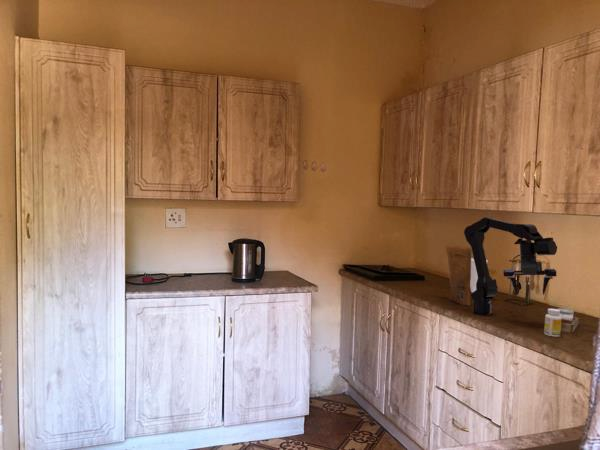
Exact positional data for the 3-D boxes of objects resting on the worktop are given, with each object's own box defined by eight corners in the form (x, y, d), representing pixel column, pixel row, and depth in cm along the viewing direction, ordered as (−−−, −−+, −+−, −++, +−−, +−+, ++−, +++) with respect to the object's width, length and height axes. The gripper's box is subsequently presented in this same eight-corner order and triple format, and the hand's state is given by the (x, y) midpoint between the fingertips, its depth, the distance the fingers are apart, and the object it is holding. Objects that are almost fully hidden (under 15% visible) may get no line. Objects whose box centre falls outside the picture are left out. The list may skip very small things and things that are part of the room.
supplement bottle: (542, 334, 170) (543, 309, 169) (546, 332, 174) (547, 307, 173) (558, 337, 166) (560, 312, 166) (561, 335, 170) (563, 310, 170)
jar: (555, 324, 183) (556, 309, 183) (557, 321, 188) (558, 307, 188) (571, 327, 180) (572, 312, 180) (573, 324, 184) (574, 310, 184)
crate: (547, 329, 177) (547, 320, 177) (554, 322, 190) (554, 313, 190) (572, 334, 172) (573, 325, 172) (578, 326, 185) (578, 317, 184)
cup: (482, 290, 256) (484, 259, 255) (488, 294, 246) (490, 261, 245) (463, 289, 257) (464, 258, 256) (468, 293, 247) (470, 260, 246)
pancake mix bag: (462, 306, 213) (465, 247, 211) (441, 297, 231) (444, 243, 230) (475, 306, 214) (478, 247, 213) (453, 297, 233) (456, 243, 231)
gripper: (502, 256, 178) (504, 296, 177) (556, 255, 170) (559, 296, 170) (502, 255, 188) (504, 293, 188) (554, 254, 181) (556, 294, 180)
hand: (530, 294), depth 181 cm, fingers open, 9 cm apart
